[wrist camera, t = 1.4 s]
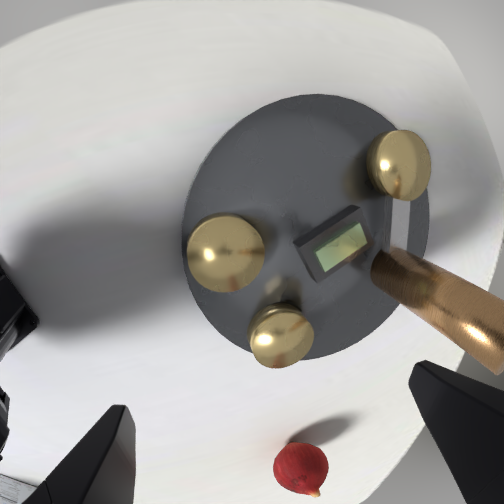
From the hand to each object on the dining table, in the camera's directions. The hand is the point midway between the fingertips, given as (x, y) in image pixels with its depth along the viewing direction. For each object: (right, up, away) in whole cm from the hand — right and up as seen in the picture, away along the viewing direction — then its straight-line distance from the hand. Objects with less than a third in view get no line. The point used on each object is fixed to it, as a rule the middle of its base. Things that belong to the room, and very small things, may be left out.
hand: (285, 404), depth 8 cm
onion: (+3, -17, +21) cm, 27 cm away
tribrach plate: (+4, +5, +14) cm, 15 cm away
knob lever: (+10, +7, +13) cm, 18 cm away
